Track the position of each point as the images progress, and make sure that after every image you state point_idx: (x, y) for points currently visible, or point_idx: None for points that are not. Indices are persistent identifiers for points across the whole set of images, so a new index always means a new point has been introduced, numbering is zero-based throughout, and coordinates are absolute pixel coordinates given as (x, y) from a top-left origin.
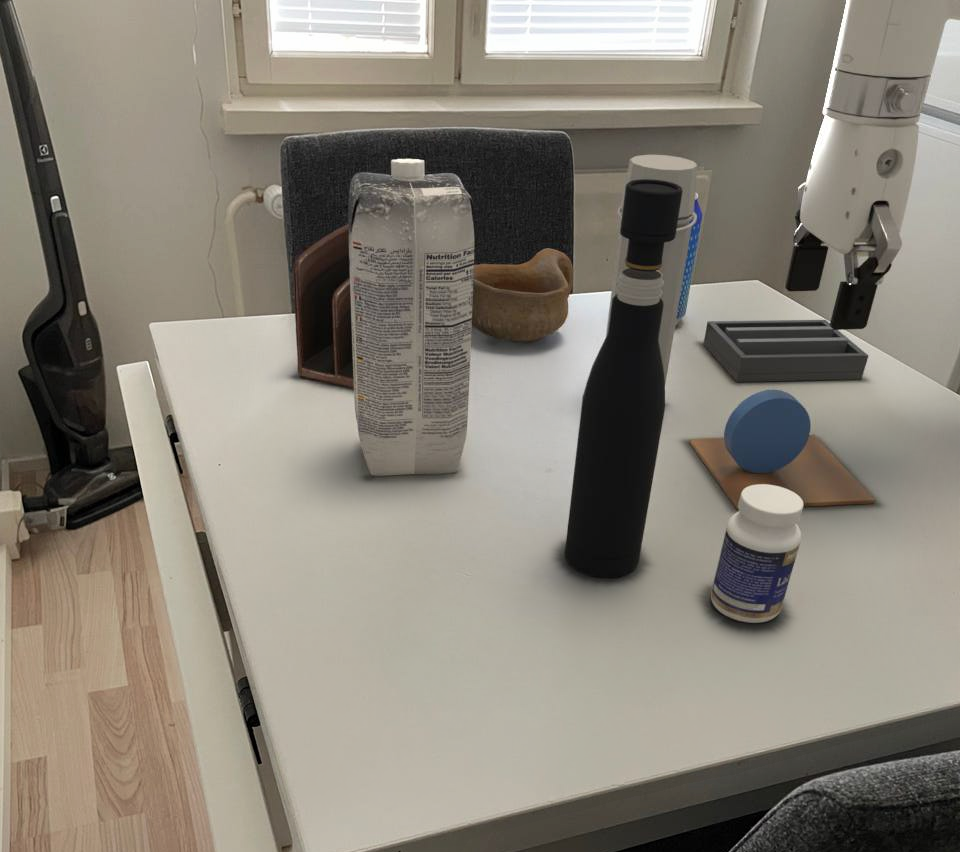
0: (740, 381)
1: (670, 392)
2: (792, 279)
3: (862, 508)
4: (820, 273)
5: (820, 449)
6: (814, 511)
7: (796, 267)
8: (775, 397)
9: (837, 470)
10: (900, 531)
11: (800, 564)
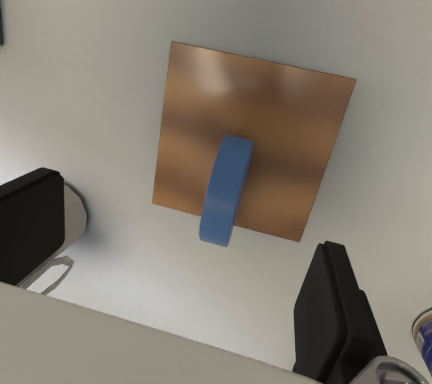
0: (2, 39)
1: (32, 150)
2: (47, 257)
3: (357, 103)
4: (31, 195)
5: (211, 61)
6: (336, 165)
7: (22, 272)
8: (228, 222)
9: (270, 77)
10: (427, 93)
11: (418, 247)
